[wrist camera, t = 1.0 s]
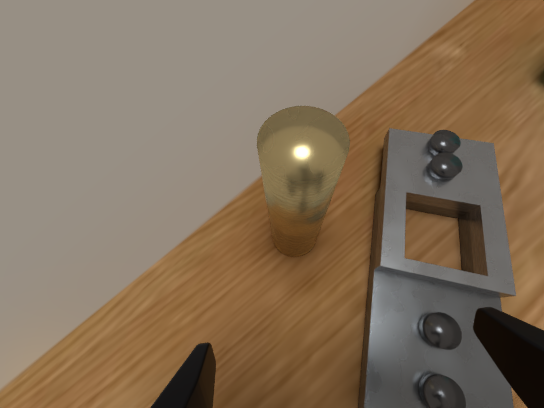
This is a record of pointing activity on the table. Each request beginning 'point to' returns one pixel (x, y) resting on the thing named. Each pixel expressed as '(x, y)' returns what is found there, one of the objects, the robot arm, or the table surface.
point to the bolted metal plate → (434, 278)
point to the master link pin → (300, 173)
